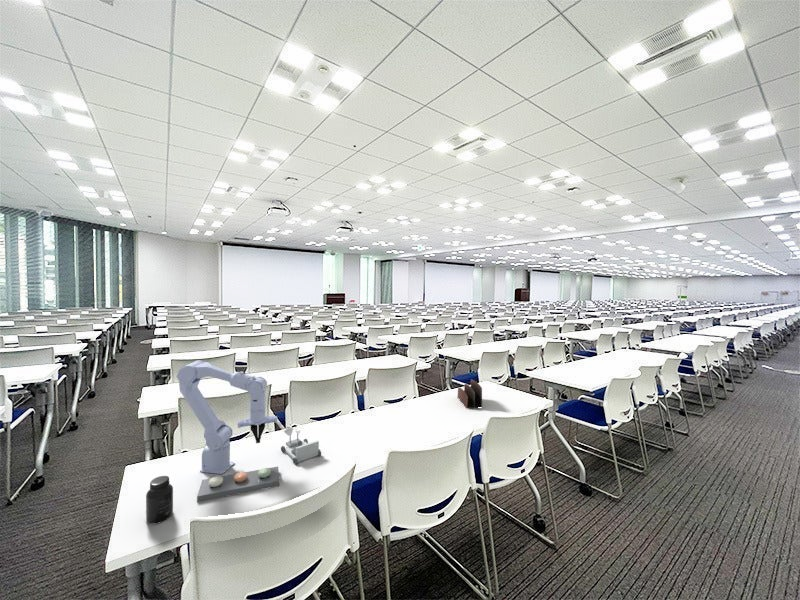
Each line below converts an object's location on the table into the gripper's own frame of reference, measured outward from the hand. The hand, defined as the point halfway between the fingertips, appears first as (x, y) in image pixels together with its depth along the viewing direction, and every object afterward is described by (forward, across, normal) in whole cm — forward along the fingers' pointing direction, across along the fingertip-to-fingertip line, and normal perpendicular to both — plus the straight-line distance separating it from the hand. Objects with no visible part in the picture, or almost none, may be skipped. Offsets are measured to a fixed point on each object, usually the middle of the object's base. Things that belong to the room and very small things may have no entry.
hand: (258, 442), depth 132 cm
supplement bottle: (+10, -28, -20) cm, 36 cm away
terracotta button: (+10, -6, -11) cm, 16 cm away
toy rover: (+11, +17, +7) cm, 21 cm away
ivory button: (+10, -14, -11) cm, 20 cm away
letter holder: (+13, +125, +35) cm, 131 cm away
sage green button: (+10, +2, -11) cm, 15 cm away
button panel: (+10, -6, -11) cm, 16 cm away
